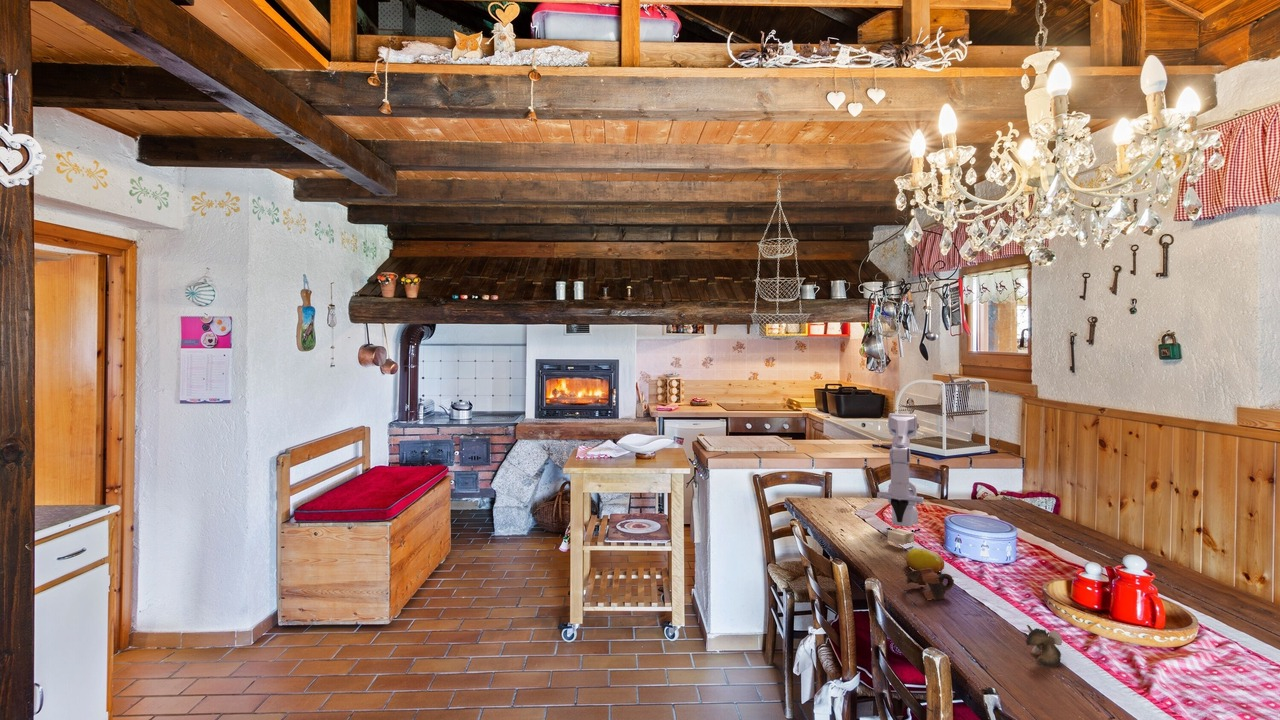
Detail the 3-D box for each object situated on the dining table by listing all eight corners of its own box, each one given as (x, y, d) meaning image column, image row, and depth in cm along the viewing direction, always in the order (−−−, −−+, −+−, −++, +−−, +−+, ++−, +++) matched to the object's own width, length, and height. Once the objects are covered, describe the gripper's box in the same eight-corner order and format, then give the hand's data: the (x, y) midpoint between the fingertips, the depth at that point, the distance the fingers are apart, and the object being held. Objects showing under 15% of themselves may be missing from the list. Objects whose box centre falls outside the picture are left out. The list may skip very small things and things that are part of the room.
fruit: (954, 575, 173) (946, 550, 173) (920, 585, 174) (912, 560, 173) (935, 561, 185) (928, 537, 184) (903, 570, 185) (896, 547, 185)
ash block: (898, 542, 206) (898, 528, 206) (913, 546, 201) (913, 532, 201) (887, 545, 203) (887, 530, 203) (903, 549, 198) (903, 535, 198)
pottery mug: (916, 603, 156) (905, 571, 160) (911, 606, 164) (900, 575, 168) (963, 594, 154) (950, 562, 158) (955, 597, 162) (943, 567, 166)
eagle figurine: (1015, 637, 134) (1015, 646, 126) (1035, 614, 133) (1037, 622, 125) (1049, 664, 130) (1052, 675, 122) (1070, 641, 129) (1074, 650, 121)
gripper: (875, 481, 200) (875, 521, 200) (921, 487, 192) (921, 527, 192) (879, 478, 206) (879, 516, 206) (924, 483, 198) (924, 522, 198)
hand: (899, 521), depth 200 cm, fingers closed
